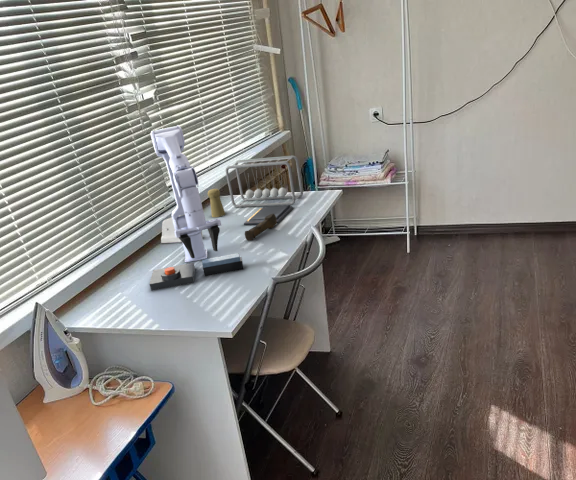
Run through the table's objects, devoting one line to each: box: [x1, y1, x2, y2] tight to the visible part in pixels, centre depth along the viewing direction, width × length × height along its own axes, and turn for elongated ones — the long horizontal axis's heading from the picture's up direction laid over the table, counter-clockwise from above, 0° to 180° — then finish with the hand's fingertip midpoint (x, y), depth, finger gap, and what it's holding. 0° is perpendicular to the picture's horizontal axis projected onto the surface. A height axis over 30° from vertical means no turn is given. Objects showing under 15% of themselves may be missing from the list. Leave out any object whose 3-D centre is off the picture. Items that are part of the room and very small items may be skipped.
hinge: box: [160, 216, 204, 244], centre depth 237 cm, size 17×5×10 cm, turn 73°
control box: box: [149, 262, 196, 292], centre depth 201 cm, size 13×14×4 cm
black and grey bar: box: [201, 252, 245, 277], centre depth 200 cm, size 4×13×4 cm, turn 96°
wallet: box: [243, 205, 294, 226], centre depth 246 cm, size 20×2×15 cm
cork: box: [207, 188, 226, 218], centre depth 257 cm, size 6×6×11 cm
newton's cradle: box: [225, 155, 304, 208], centre depth 260 cm, size 30×10×18 cm, turn 69°
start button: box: [165, 266, 175, 275], centre depth 196 cm, size 3×3×2 cm
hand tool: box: [244, 214, 278, 242], centre depth 229 cm, size 19×4×5 cm, turn 146°
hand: (204, 254), depth 190 cm, fingers open, 7 cm apart
